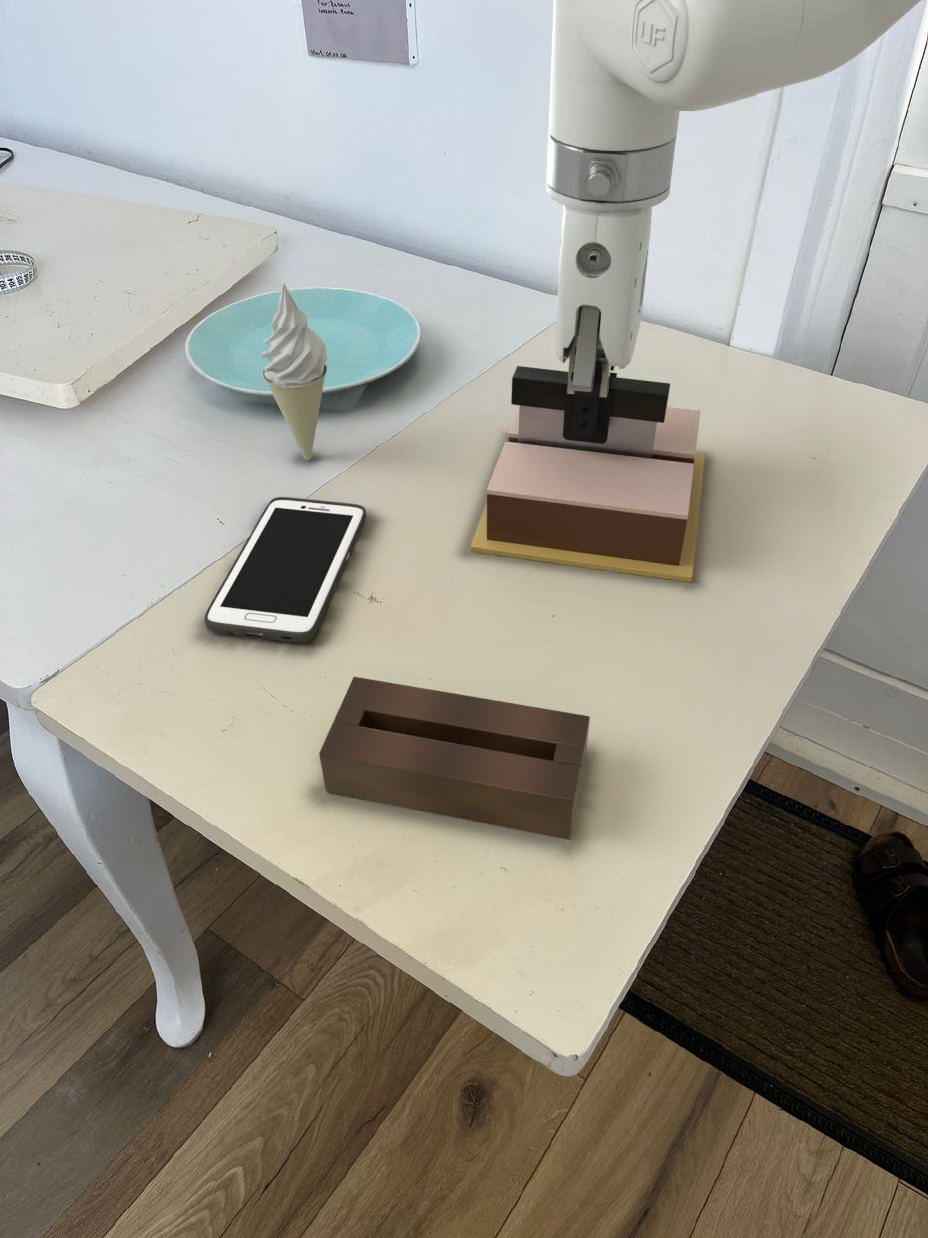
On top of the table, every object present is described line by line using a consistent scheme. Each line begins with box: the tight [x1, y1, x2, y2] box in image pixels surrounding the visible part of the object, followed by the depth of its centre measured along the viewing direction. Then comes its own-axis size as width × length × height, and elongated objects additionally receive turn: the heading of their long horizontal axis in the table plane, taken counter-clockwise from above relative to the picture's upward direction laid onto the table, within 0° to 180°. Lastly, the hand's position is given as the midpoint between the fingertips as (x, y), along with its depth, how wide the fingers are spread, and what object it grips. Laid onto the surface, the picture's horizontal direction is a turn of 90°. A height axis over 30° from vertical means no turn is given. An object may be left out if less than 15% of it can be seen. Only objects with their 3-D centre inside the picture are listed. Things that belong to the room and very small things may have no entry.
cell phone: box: [203, 496, 367, 644], centre depth 68 cm, size 8×15×1 cm, turn 169°
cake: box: [469, 405, 706, 583], centre depth 72 cm, size 16×16×5 cm
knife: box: [510, 365, 671, 459], centre depth 70 cm, size 11×2×10 cm, turn 76°
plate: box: [184, 287, 422, 398], centre depth 91 cm, size 22×22×3 cm
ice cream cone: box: [261, 283, 328, 462], centre depth 74 cm, size 5×5×15 cm
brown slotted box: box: [318, 676, 591, 840], centre depth 54 cm, size 14×6×4 cm, turn 76°
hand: (587, 428), depth 70 cm, fingers closed on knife, 2 cm apart
